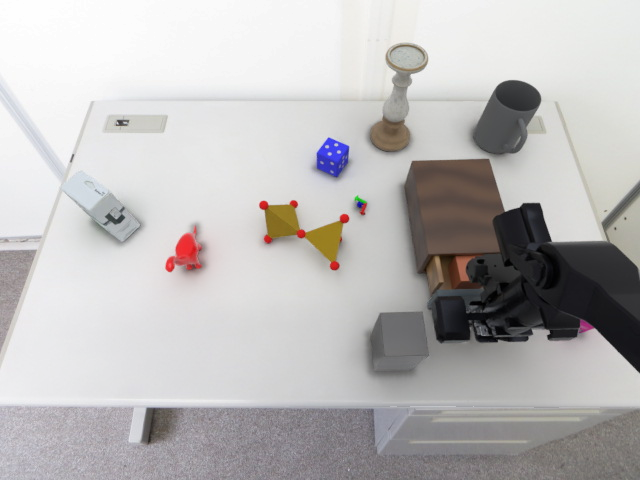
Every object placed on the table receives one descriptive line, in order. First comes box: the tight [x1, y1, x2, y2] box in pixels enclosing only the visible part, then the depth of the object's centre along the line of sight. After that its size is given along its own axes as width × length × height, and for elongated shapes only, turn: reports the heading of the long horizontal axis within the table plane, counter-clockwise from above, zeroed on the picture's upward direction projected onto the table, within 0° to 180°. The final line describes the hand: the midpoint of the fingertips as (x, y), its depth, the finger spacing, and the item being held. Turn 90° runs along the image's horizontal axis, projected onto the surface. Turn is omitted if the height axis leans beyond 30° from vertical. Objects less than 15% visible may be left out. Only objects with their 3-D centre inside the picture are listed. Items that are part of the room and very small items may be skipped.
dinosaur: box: [164, 224, 203, 273], centre depth 65 cm, size 4×15×12 cm, turn 8°
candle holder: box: [370, 42, 429, 152], centre depth 75 cm, size 9×9×20 cm
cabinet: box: [403, 158, 506, 274], centre depth 70 cm, size 20×15×8 cm
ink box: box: [58, 169, 141, 243], centre depth 69 cm, size 9×5×12 cm, turn 54°
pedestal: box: [370, 311, 430, 372], centre depth 57 cm, size 6×6×12 cm
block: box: [448, 255, 482, 290], centre depth 64 cm, size 5×5×5 cm
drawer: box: [426, 255, 484, 328], centre depth 65 cm, size 23×13×6 cm, turn 1°
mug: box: [473, 79, 542, 155], centre depth 77 cm, size 14×9×12 cm
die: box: [316, 137, 350, 178], centre depth 79 cm, size 5×5×5 cm
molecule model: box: [258, 194, 368, 272], centre depth 69 cm, size 16×18×12 cm
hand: (480, 332), depth 59 cm, fingers closed, pressing on drawer
